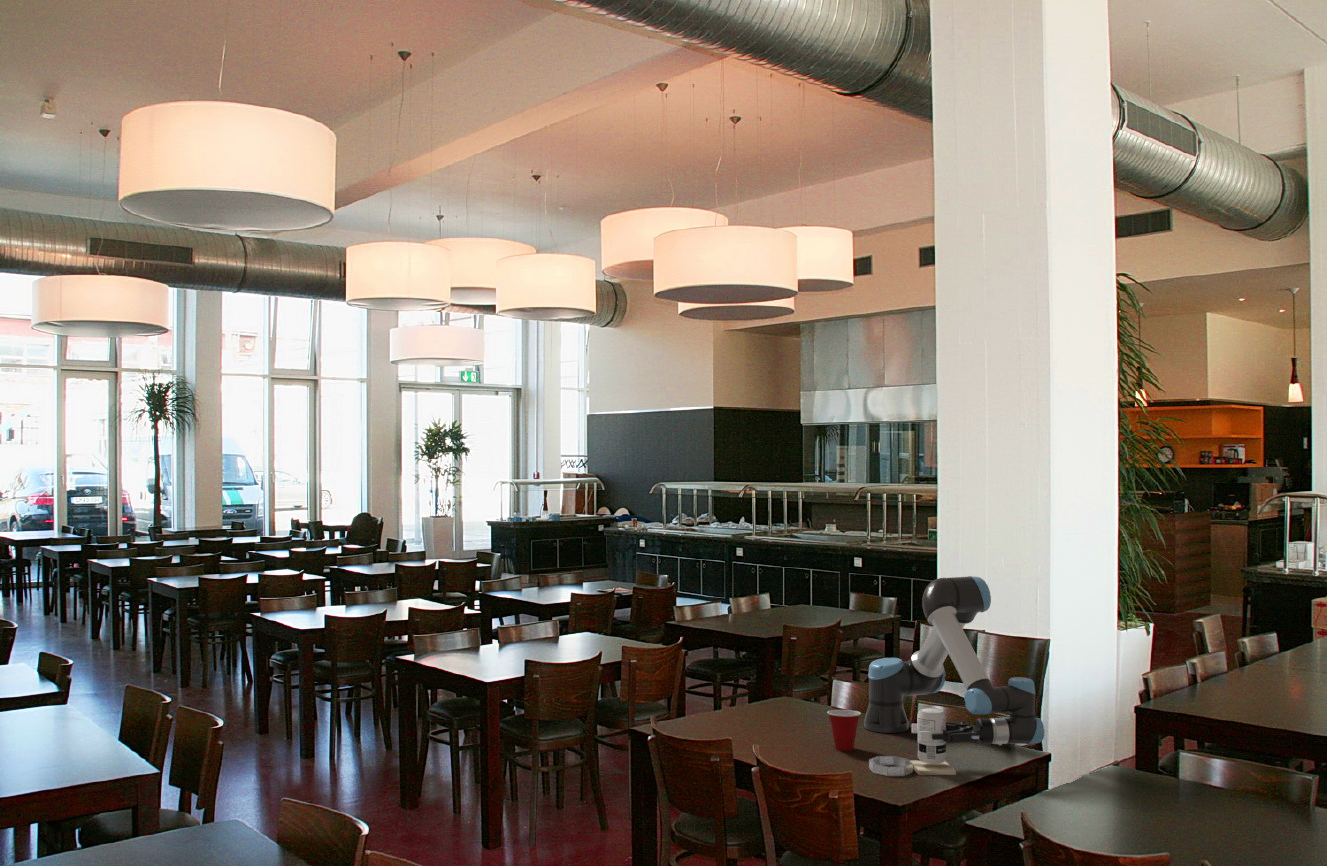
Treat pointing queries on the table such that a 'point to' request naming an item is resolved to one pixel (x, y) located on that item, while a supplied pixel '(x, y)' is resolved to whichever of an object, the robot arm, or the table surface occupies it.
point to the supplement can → (931, 722)
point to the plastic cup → (844, 728)
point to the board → (932, 768)
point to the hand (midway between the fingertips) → (916, 732)
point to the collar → (878, 767)
